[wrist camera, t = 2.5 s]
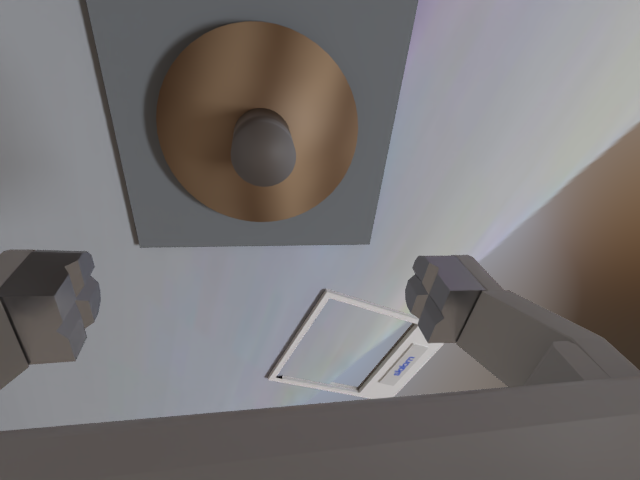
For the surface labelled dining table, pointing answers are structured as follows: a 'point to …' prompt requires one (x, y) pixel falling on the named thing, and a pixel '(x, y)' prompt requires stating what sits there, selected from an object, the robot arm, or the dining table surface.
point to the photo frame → (389, 370)
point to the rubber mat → (191, 23)
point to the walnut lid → (257, 121)
